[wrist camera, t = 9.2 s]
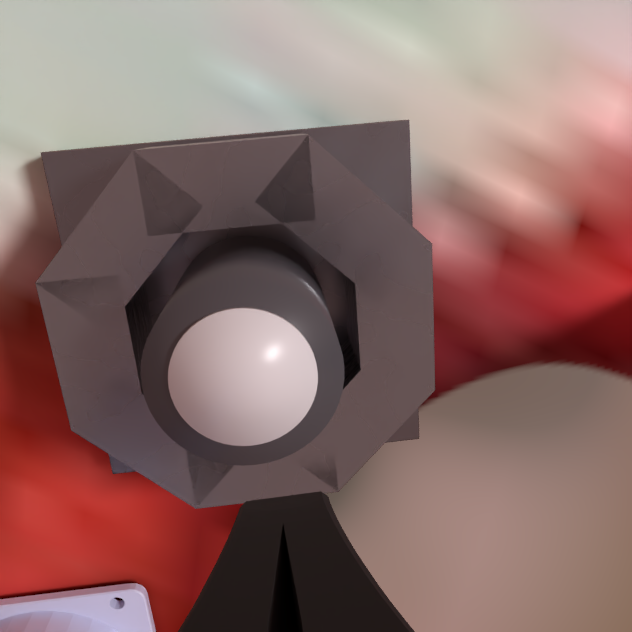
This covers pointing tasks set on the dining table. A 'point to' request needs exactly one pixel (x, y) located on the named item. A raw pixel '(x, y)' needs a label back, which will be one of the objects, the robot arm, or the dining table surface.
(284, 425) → the cap
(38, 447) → the dining table surface
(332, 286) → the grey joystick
